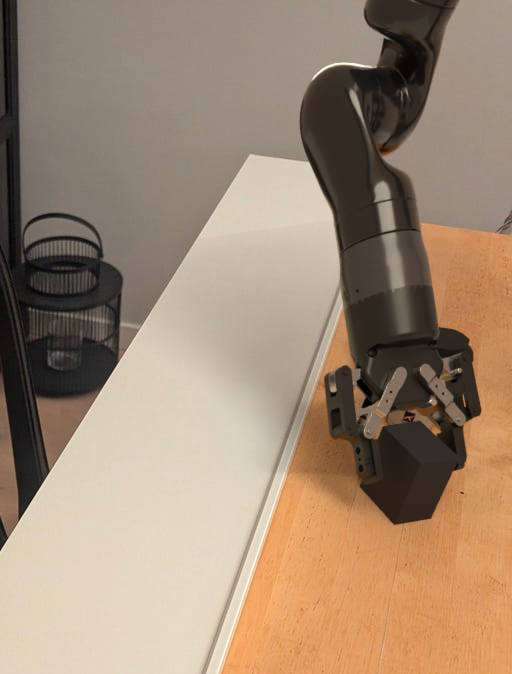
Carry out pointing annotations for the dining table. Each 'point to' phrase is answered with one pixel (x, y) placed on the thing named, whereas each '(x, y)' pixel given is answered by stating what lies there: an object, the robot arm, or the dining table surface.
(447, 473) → the black rectangular block
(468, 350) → the coffee cup
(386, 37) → the robot arm
